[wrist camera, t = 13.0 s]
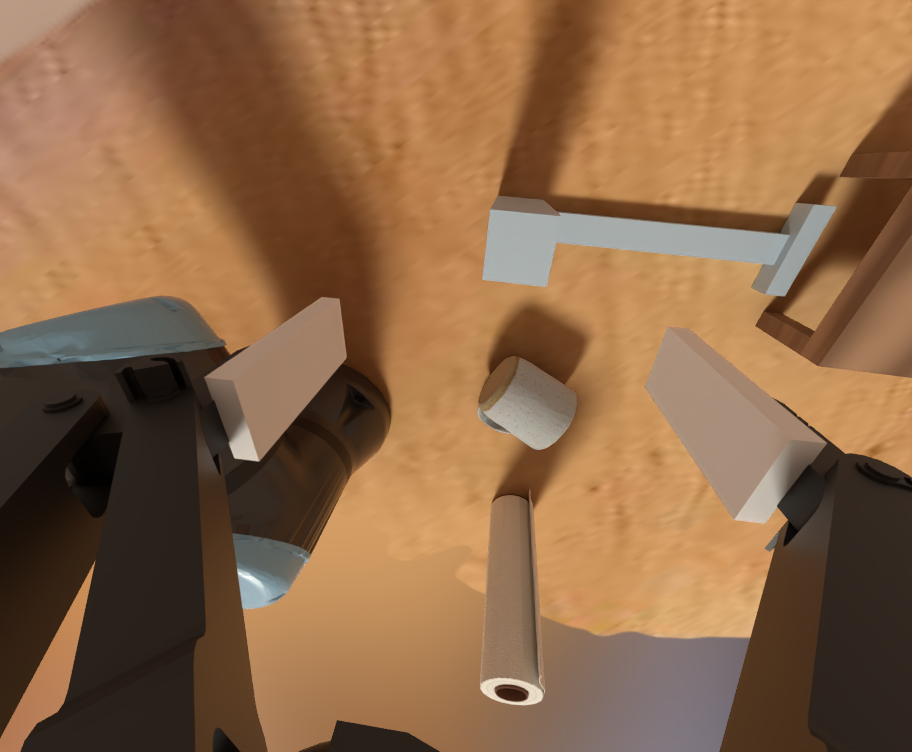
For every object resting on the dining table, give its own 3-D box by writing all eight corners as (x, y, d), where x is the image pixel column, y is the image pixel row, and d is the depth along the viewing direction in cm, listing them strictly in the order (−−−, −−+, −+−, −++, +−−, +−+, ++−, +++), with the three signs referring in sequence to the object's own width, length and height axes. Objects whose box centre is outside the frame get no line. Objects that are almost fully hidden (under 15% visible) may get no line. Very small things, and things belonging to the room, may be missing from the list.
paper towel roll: (501, 524, 53) (496, 709, 35) (483, 499, 51) (468, 682, 33) (546, 514, 51) (566, 707, 33) (530, 487, 48) (541, 678, 30)
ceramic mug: (514, 339, 38) (513, 376, 31) (573, 377, 39) (585, 420, 32) (462, 403, 43) (453, 445, 36) (516, 434, 44) (516, 481, 38)
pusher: (490, 259, 34) (479, 302, 22) (500, 175, 30) (493, 179, 19) (769, 289, 32) (909, 354, 21) (817, 204, 28) (1017, 226, 17)
